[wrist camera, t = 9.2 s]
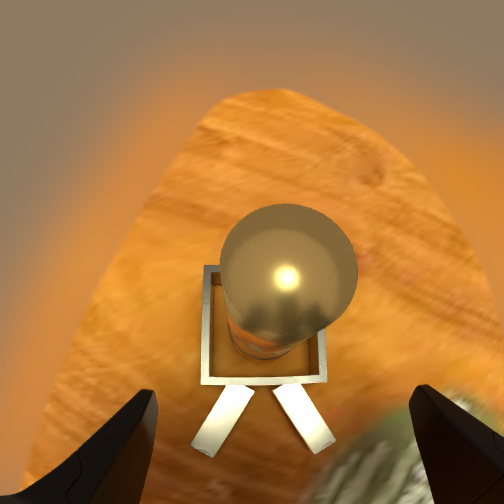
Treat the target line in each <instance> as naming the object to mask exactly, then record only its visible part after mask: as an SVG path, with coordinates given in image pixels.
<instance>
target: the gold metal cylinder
mask: <svg viewBox="0 0 504 504" xmlns="http://www.w3.org/2000/svg"><path fill="white" fill-rule="evenodd" d="M220 276H221V282H222V288H223V294H224V300H225V306H226V311H227V317H228V328H229V333H230V337H231V339H232V342H233V344H234V346H235V348H236V349H237V351H238V352H239V353H240V354H241V355H242V356H244V357H245V358H247V359H249V360H252V361H256V362H268V361H272V360H274V359H277V358H279V357H281V356H283V355H285V354H286V353H288V352H289V351H290V350H291V349H293V348H294V347H296V346H297V345H299V344H301V343H302V342H304V341H305V340H307V339H308V338H310V337H312V336H313V335H315V334H316V333H318V332H319V331H321V330H322V329H324V328H325V327H327V326H328V325H330V324H331V323H333V322H334V321H335V320H336V319H338V318H339V317H340V316H341V315H342V313H343V312H344V311H345V310H346V308H347V307H348V305H349V304H350V302H351V300H352V298H353V296H354V293H355V290H356V286H357V280H358V267H357V260H356V256H355V252H354V250H353V247H352V245H351V243H350V241H349V239H348V238H347V236H346V235H345V233H344V232H343V231H342V230H341V229H340V227H339V226H338V225H337V224H336V223H334V222H333V221H332V220H331V219H330V218H328V217H327V216H325V215H324V214H322V213H320V212H318V211H316V210H313V209H311V208H308V207H305V206H301V205H295V204H276V205H270V206H266V207H263V208H260V209H258V210H256V211H254V212H252V213H250V214H248V215H247V216H245V217H244V218H243V219H242V220H240V221H239V222H238V223H237V224H236V225H235V227H234V228H233V229H232V230H231V232H230V233H229V235H228V237H227V238H226V240H225V242H224V245H223V248H222V252H221V257H220Z"/></svg>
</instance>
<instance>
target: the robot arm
mask: <svg viewBox="0 0 504 504" xmlns="http://www.w3.org/2000/svg"><path fill="white" fill-rule="evenodd" d="M409 410H410V414H411V419H412V423H413V428H414V433H415V438H416V442H417V445H418V448H419V451H420V455H421V458H422V461H423V465H424V468H425V471H426V475H427V478H428V482H429V485H430V489H431V493H432V496H433V500H434V504H504V437H502V436H501V435H499V434H498V433H497V432H495V431H493V430H492V429H491V428H489V427H488V426H486V425H485V424H484V423H482V422H481V421H479V420H478V419H476V418H475V417H474V416H472V415H471V414H469V413H468V412H466V411H465V410H464V409H462V408H461V407H459V406H458V405H456V404H455V403H454V402H452V401H451V400H449V399H448V398H446V397H445V396H444V395H442V394H441V393H439V392H438V391H436V390H435V389H434V388H432V387H431V386H429V385H427V384H424V385H418V386H417V387H416V388H415V390H414V392H413V394H412V396H411V398H410V400H409ZM157 416H158V404H157V400H156V395H155V392H154V391H153V390H149V389H141V390H140V391H139V392H138V393H137V394H136V395H135V396H134V397H133V398H132V399H130V400H129V401H128V402H127V403H126V404H125V405H124V406H123V407H122V408H121V409H120V410H119V411H118V412H117V413H116V414H115V415H114V416H113V417H111V418H110V419H109V420H108V421H107V422H106V423H105V424H104V425H103V426H102V427H101V428H100V429H99V430H98V431H97V432H96V433H94V434H93V435H92V436H91V437H90V438H89V439H88V440H87V441H86V442H85V443H84V444H83V445H82V446H80V447H79V448H78V451H75V452H74V453H73V454H72V455H71V456H69V457H68V458H67V459H66V460H65V461H64V462H63V463H61V464H60V465H59V466H58V467H56V468H55V469H54V470H52V471H51V472H50V473H48V474H47V475H45V476H44V477H42V478H41V479H39V480H38V481H36V482H35V483H34V484H32V485H31V486H29V487H28V488H26V489H24V490H23V491H21V492H19V493H16V494H12V495H4V496H0V504H139V503H140V499H141V495H142V491H143V487H144V483H145V479H146V475H147V471H148V467H149V464H150V460H151V456H152V452H153V446H154V438H155V430H156V423H157Z"/></svg>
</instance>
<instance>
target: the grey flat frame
mask: <svg viewBox="0 0 504 504" xmlns="http://www.w3.org/2000/svg"><path fill="white" fill-rule="evenodd" d="M214 284H222V282H221V276H220V265H204V277H203V303H202V338H201V385H227V386H226V388H225V389H224V391H223V393H222V394H221V396H220V398H219V399H218V401H217V403H216V404H215V406H214V407H213V409H212V411H211V412H210V414H209V415H208V417H207V419H206V420H205V422H204V423H203V425H202V427H201V428H200V430H199V431H198V433H197V435H196V436H195V438H194V439H193V441H192V442H191V444H190V446H192V447H193V448H195V449H197V450H199V451H201V452H202V453H204V454H206V455H208V456H210V457H211V458H213V457H214V456H215V454H216V453H217V451H218V450H219V448H220V447H221V445H222V443H223V442H224V440H225V439H226V437H227V436H228V434H229V432H230V431H231V429H232V428H233V426H234V424H235V423H236V421H237V420H238V418H239V416H240V415H241V413H242V411H243V410H244V408H245V406H246V405H247V403H248V401H249V400H250V398H251V396H252V395H253V393H254V391H253V390H251V389H249V388H247V387H246V386H244V385H279V386H277V387H275V388H274V389H272V390H271V392H272V393H273V395H274V396H275V398H276V399H277V401H278V403H279V404H280V406H281V407H282V409H283V410H284V412H285V414H286V415H287V417H288V418H289V420H290V421H291V423H292V424H293V426H294V427H295V429H296V430H297V432H298V433H299V435H300V436H301V438H302V439H303V441H304V442H305V444H306V445H307V447H308V448H309V450H310V451H311V452H312V453H314V454H317V453H319V452H320V451H322V450H323V449H325V448H326V447H328V446H329V445H331V444H332V443H334V442H335V441H337V440H336V439H335V437H334V436H333V434H332V433H331V431H330V430H329V428H328V427H327V425H326V424H325V422H324V420H323V419H322V417H321V416H320V414H319V413H318V411H317V410H316V408H315V407H314V405H313V403H312V402H311V400H310V399H309V397H308V396H307V394H306V392H305V391H304V389H303V388H302V386H301V385H300V384H304V383H319V382H327V362H326V341H325V328H324V329H322V330H321V331H319V332H318V333H316V334H315V335H313V336H312V337H310V338H309V355H310V376H292V377H257V378H228V377H212V351H213V298H214Z"/></svg>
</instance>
